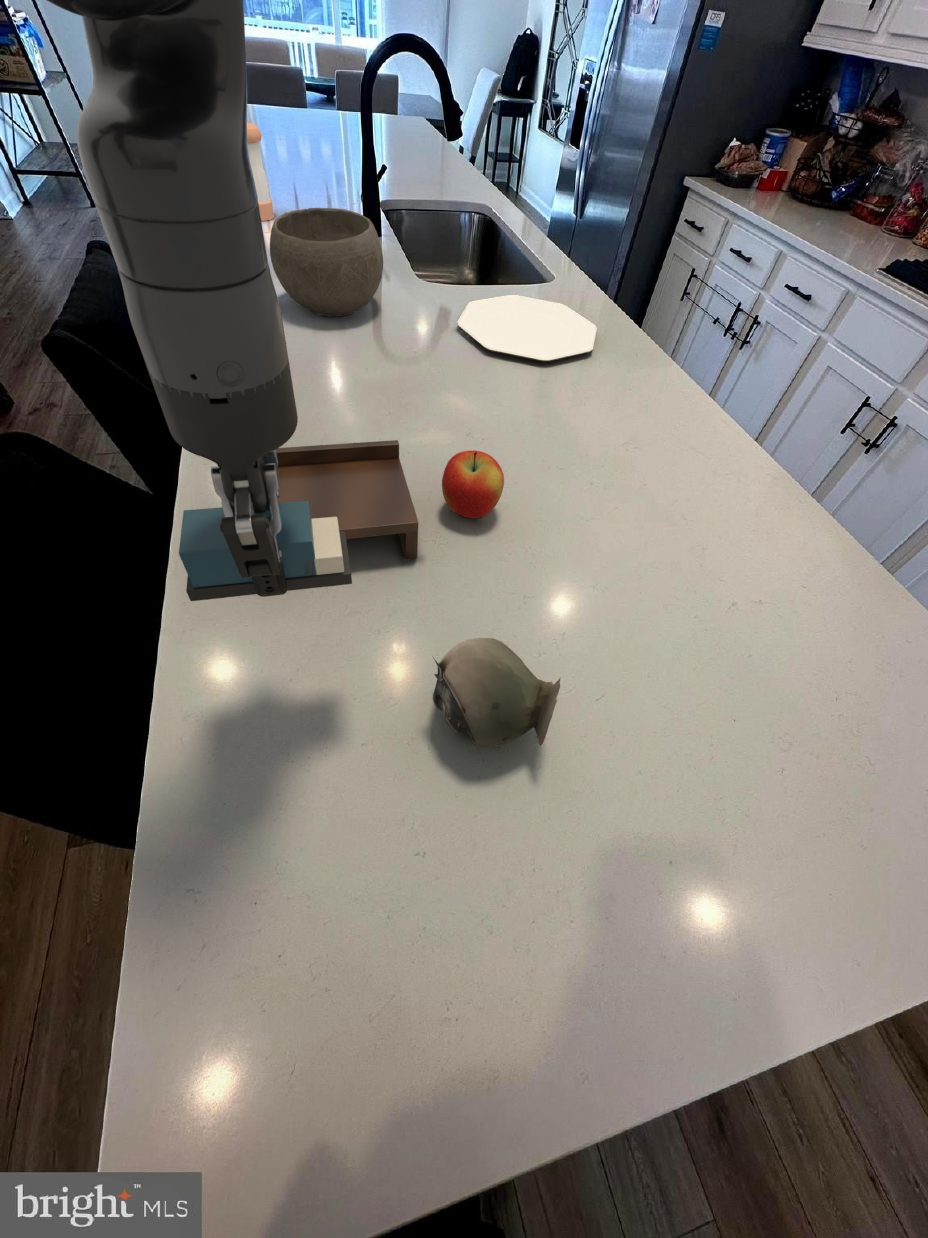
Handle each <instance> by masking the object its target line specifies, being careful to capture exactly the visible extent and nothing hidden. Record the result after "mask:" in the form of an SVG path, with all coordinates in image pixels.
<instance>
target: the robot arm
mask: <svg viewBox="0 0 928 1238" xmlns="http://www.w3.org/2000/svg"><path fill="white" fill-rule="evenodd" d="M46 1H47V2H49V3H50V4H52V5H53V6H56V7H58V8H60V9H63V10H65V11H67V12H70V13H72V14H73V15H77V16H80V17H81V19H82V23H83V28H84V33H85V34H84V35H85V39H86V45H87V49H88V54H89V59H90V64H91V70H92V82H93V83H92V88H91V92H90V95H89V96H88V99H87V102H86V103H85V105H84V106H83V109H82V111H81V113H80V115H79V117H78V120H77V125H76V143H77V150H78V154H79V158H80V162H81V165H82V170H83V172H84V173H83V174H84V176H85V179H86V182H87V185H88V188H89V191H90V194H91V197H92V199H93V203H94V205H95V208H96V211H97V214H98V217H99V220H100V222H101V225H102V228H103V231H104V234H105V237H106V239H107V242H108V245H109V248H110V251H111V254H112V257H113V259H114V262H115V265H116V267H117V272H118V275H119V278H120V281H121V286H122V290H123V295H124V300H125V305H126V309H127V314H128V317H129V322H130V324H131V328H132V330H133V333H134V336H135V337H136V341H137V344H138V346H139V350H140V352H141V355H142V357H143V360H144V364H145V366H146V369H147V372H148V375H149V378H150V380H151V383H152V386H153V388H154V392H155V394H156V397H157V399H158V403H159V404H160V405H159V406H160V408H161V410H162V414H163V417H164V419H165V422H166V425H167V427H168V431H169V433H170V435H171V437H172V439H173V440H174V441H175V442H176V444H178V445H179V446H180V447H181V448H182V449H184V450H186V451H187V452H188V453H191V454H192V455H196V456H198V457H202V458H204V459H207V460H209V461H211V462H213V463H215V464H216V465H217V466H211V467H210V475H211V480H212V484H213V490H214V493H215V495H217V496H218V497H219V498H220V501H221V507H222V506H223V510H224V515H225V517H222V518H221V524H220V529H221V532H223V535H224V537H225V540H226V542H227V544H228V546H229V549H230V551H231V553H232V556H233V558H234V560H235V563H236V565H237V567H238V571H239V573H240V574H241V577H242V578H250V577H252V580H253V583H254V587H255V590H256V593H257V594H256V595H257V596H259V597H263V598H266V597H274V596H283V595H285V594H287V592H288V591H287V584H286V579H285V575H284V570H283V566H282V562H281V557H282V551H281V550H280V549H279V543H278V537H277V533H279V532H280V531H281V528H282V517H281V512H280V506H279V500H278V498H280V495H279V492H277V491H278V489H279V488H280V476H279V469H278V455H277V448H282V446H283V445H286V443H287V442H289V440H290V439H291V438H292V437H293V436H294V433H295V432H296V430H297V427H298V420H299V416H298V410H297V404H296V398H295V391H294V387H293V386H294V385H293V379H292V372H291V367H290V366H291V365H290V360H289V354H288V345H287V340H286V334H285V327H284V322H283V314H282V309H281V305H280V301H279V298H278V294H277V291H276V287H275V285H274V282H273V277H272V273H271V269H270V263H269V259H268V254H267V249H266V248H267V247H266V242H265V236H264V229H263V223H262V222H263V221H261V216H260V210H259V204H258V197H257V191H256V186H255V181H254V177H253V172H252V168H251V164H250V159H249V153H248V144H247V122H248V76H247V75H248V73H247V52H246V29H245V28H246V26H245V5H244V3H245V2H244V0H46ZM270 509H271V516H269V517H266V516H265V514H260V515H255V514H258V513H264V512H266V511H270Z"/></svg>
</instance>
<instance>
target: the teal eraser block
mask: <svg viewBox="0 0 928 1238" xmlns="http://www.w3.org/2000/svg"><path fill="white" fill-rule="evenodd" d="M279 506H280V512H281V517H282V528H281V531H280V532H279V533H277V537H278V543H279V549H280V550H281V551H282V557H281V562H282V566H283V570H284V575H285V579H286V584H287V592H291V591H299V590H307V589H308V590H309V589H318V588H326V587H327V588H328V587H335V586H336V587H337V586H346V585H352V584H353V578H352V577H353V576H352V570H351V564H350V563H351V562H350V557H349V556H350V555H349V550H348V543H347V539H346V535H345V531H341V532H339V526H338V519H337V517H327V518H315V519H312V518H311V512H310V506H309V502H308V501H300V502H287V503H279ZM260 514H265V516H266V517H269V516H271V509H270V511H266V512H264V513H258V514H255V515H260ZM222 517H225V515H224V510H223V507H222V506H221V507H210V508H209V507H208V508H200V509H199V508H197V509H184V510H183V513H182V521H181V530H180V538H179V539H180V540H179V547H178V555H179V557H180V560H181V563H182V565H183V567H184V569H185V571H186V574H187V577H186V590H185V592H186V594H187V597H188V598H189V600H190V602H197V601H208V600H214V599H215V600H216V599H217V600H218V599H225V598H234V597H243V596H253V595H257V593H256V590H255V587H254V583H253V580H252V577H250V578H242V577H241V574H240V573H239V571H238V567H237V565H236V563H235V560H234V558H233V556H232V553H231V551H230V549H229V546H228V544H227V542H226V540H225V537H224V535H223V532H221V529H220V524H221V518H222Z"/></svg>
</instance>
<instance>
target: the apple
mask: <svg viewBox="0 0 928 1238" xmlns="http://www.w3.org/2000/svg"><path fill="white" fill-rule="evenodd" d="M443 470H444V471H443V473H442V478H441V479H442V480H441V491H442V496H443V499H444V502H445V504H446V505H447V507H448V508H449V509H450V510H451V511H452V512H454V513H455V514H457V515H459V516H461V517H464V518H468V519H469V518H470V519H480V518H482V517H485V516H487V515H488V514H489V513H491V512H492V511H493V510H494V509H495V507H497V505H498V503H499V501H500V499H501V497H502V494H503V490H504V486H505V476H504V472H503V469H502V466H501V465H500V464H499V462H498V461H497V460H496V459H495V458H494V457H493V456H492V455H490V454H489V453H487V452H484V451H482V450H481V451H480V450H464V451H460V452H457V453H455V454H454V455H453V456H451V458H450V459H448V462H447V464H446V465H445V467H444V469H443Z"/></svg>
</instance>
